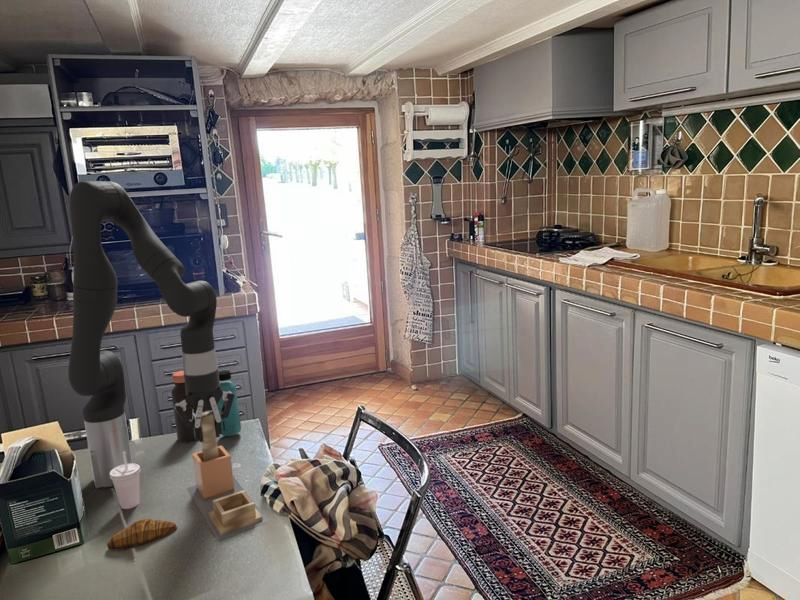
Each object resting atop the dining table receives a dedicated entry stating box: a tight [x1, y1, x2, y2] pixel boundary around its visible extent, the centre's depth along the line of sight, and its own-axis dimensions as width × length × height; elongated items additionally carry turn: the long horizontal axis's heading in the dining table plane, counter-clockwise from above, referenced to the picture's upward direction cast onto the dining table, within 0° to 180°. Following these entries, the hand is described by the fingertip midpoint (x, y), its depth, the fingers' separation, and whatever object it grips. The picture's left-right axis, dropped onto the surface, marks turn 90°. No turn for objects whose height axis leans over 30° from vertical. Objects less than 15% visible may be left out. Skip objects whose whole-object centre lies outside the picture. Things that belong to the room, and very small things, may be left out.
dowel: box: [200, 411, 219, 462], centre depth 136 cm, size 3×3×16 cm
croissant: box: [106, 518, 178, 551], centre depth 120 cm, size 14×7×5 cm, turn 113°
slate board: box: [186, 475, 270, 542], centre depth 132 cm, size 11×26×1 cm, turn 33°
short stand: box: [208, 489, 262, 535], centre depth 126 cm, size 9×9×4 cm
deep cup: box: [191, 444, 234, 500], centre depth 137 cm, size 7×7×9 cm
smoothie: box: [110, 452, 141, 510], centre depth 133 cm, size 6×6×14 cm
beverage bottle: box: [217, 369, 242, 437], centre depth 168 cm, size 6×7×20 cm
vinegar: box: [170, 370, 197, 443], centre depth 169 cm, size 7×7×20 cm
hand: (208, 438), depth 136 cm, fingers closed on dowel, 3 cm apart
